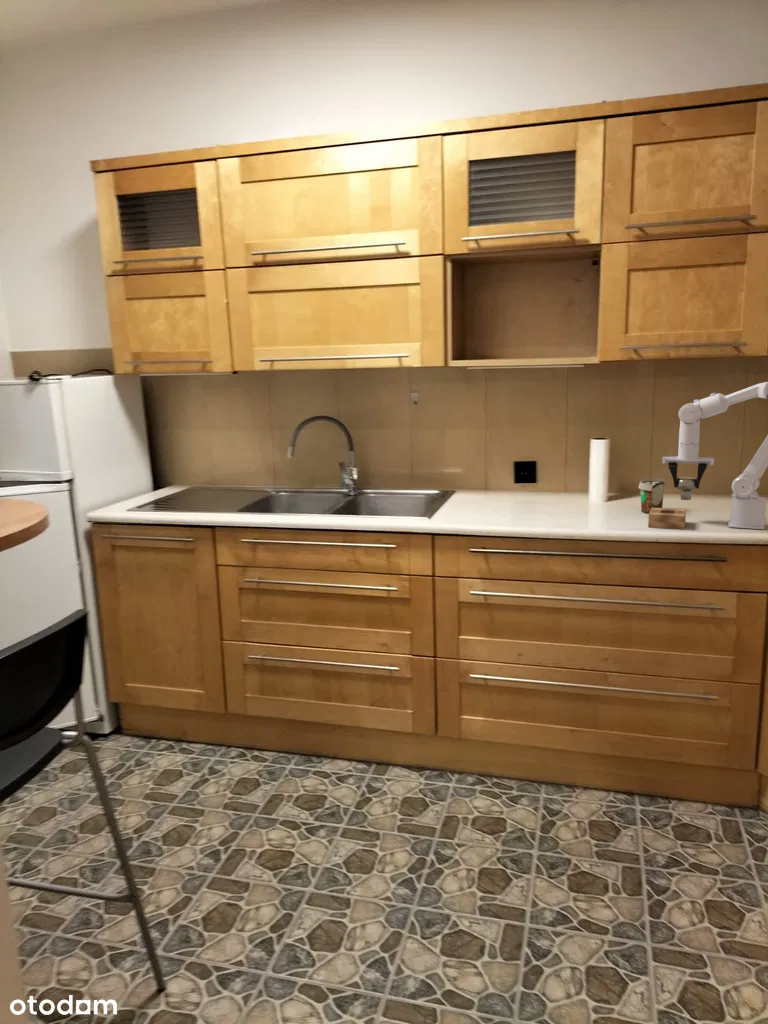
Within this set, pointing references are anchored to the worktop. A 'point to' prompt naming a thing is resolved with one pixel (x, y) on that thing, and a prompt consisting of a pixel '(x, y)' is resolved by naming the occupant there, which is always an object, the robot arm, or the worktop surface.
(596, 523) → the worktop surface
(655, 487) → the food container
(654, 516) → the block
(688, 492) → the grey rounded piece
